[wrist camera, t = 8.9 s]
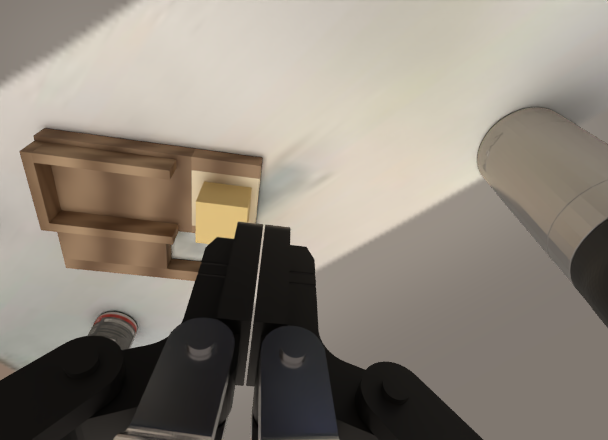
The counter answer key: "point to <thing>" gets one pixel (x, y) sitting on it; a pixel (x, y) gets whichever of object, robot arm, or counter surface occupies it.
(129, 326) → the pill bottle
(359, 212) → the counter surface
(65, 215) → the cubby
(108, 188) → the wooden compartment tray
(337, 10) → the counter surface
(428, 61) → the counter surface
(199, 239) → the block
